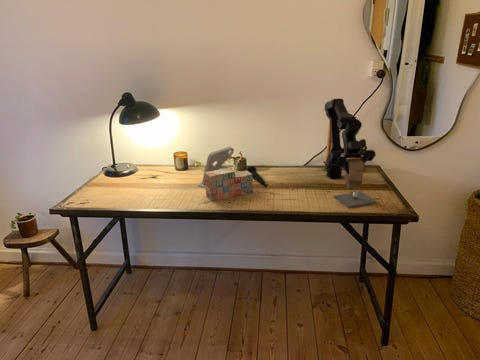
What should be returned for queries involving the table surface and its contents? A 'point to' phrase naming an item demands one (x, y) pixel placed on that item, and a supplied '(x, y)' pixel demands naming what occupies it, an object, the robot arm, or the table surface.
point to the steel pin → (355, 195)
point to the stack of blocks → (227, 183)
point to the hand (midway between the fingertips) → (355, 173)
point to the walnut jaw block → (354, 174)
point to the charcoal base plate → (355, 200)
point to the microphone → (256, 175)
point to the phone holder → (220, 158)
